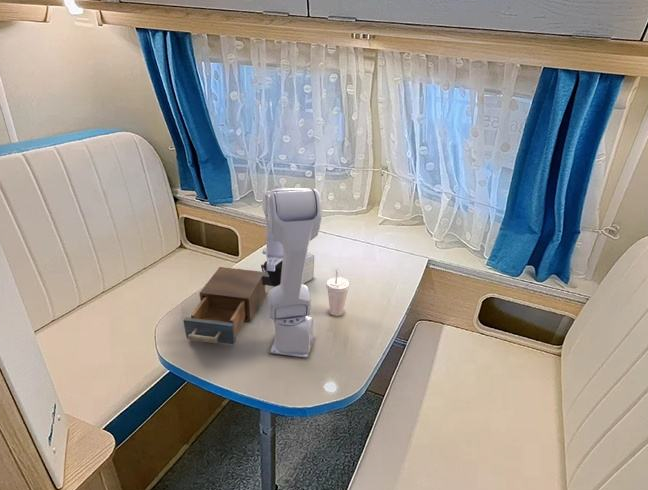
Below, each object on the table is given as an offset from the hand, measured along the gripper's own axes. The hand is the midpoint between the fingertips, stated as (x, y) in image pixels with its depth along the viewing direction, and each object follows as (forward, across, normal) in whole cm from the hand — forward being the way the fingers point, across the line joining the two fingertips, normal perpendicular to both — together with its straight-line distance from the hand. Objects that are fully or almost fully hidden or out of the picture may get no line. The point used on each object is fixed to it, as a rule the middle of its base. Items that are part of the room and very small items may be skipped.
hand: (278, 281), depth 117 cm
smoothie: (+9, -2, +16) cm, 19 cm away
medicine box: (+10, -17, +2) cm, 20 cm away
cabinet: (+9, 0, -13) cm, 16 cm away
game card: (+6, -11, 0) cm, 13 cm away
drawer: (+9, +14, -13) cm, 21 cm away
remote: (0, 0, 0) cm, 0 cm away
